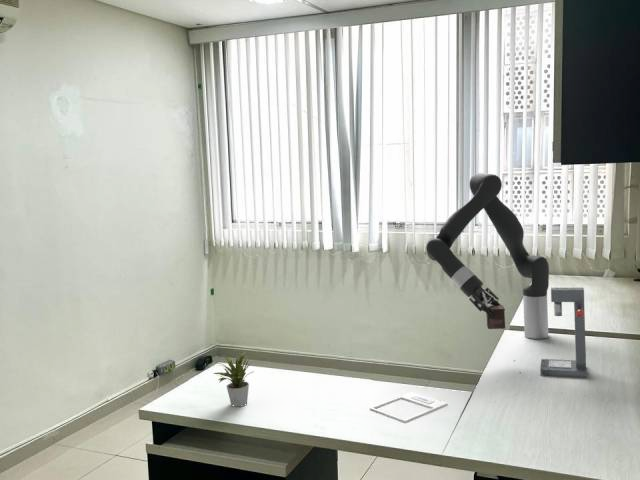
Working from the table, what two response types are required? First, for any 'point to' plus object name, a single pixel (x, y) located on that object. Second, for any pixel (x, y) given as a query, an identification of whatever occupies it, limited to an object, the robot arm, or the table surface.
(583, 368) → the press
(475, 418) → the table surface
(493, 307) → the box
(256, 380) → the table surface
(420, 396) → the photo frame
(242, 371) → the house plant
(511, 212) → the robot arm
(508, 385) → the table surface
